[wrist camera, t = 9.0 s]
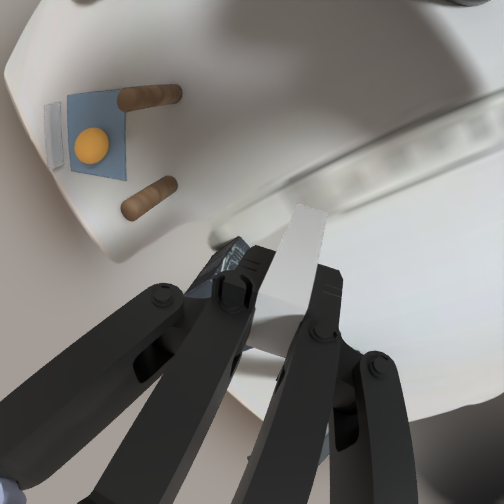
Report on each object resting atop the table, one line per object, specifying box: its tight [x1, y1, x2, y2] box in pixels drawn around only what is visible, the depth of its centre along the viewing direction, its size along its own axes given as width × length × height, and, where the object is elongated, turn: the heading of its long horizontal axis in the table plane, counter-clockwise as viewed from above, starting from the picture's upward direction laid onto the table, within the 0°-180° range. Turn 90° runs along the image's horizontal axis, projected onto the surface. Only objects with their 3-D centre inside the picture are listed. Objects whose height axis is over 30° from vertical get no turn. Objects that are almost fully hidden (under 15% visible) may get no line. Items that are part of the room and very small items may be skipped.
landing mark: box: [67, 90, 126, 181], centre depth 36 cm, size 14×14×1 cm
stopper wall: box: [44, 102, 64, 169], centre depth 36 cm, size 12×2×2 cm, turn 172°
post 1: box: [117, 84, 182, 112], centre depth 26 cm, size 3×3×9 cm
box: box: [184, 237, 254, 352], centre depth 36 cm, size 11×7×10 cm, turn 43°
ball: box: [74, 128, 109, 164], centre depth 34 cm, size 6×6×6 cm
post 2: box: [121, 176, 177, 221], centre depth 33 cm, size 3×3×9 cm
